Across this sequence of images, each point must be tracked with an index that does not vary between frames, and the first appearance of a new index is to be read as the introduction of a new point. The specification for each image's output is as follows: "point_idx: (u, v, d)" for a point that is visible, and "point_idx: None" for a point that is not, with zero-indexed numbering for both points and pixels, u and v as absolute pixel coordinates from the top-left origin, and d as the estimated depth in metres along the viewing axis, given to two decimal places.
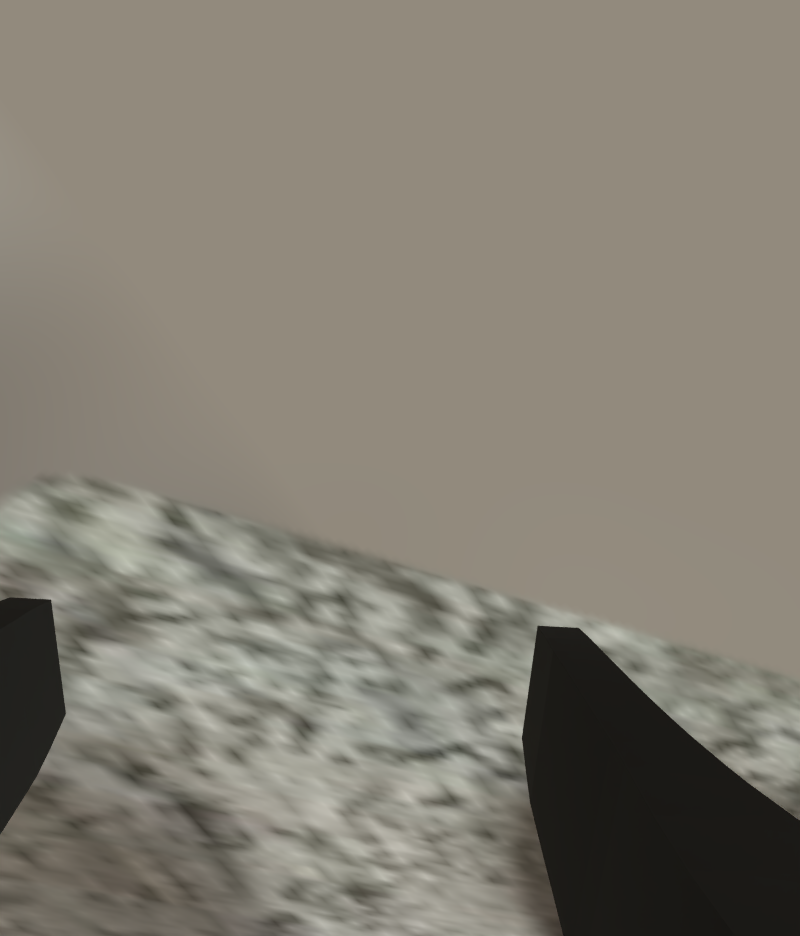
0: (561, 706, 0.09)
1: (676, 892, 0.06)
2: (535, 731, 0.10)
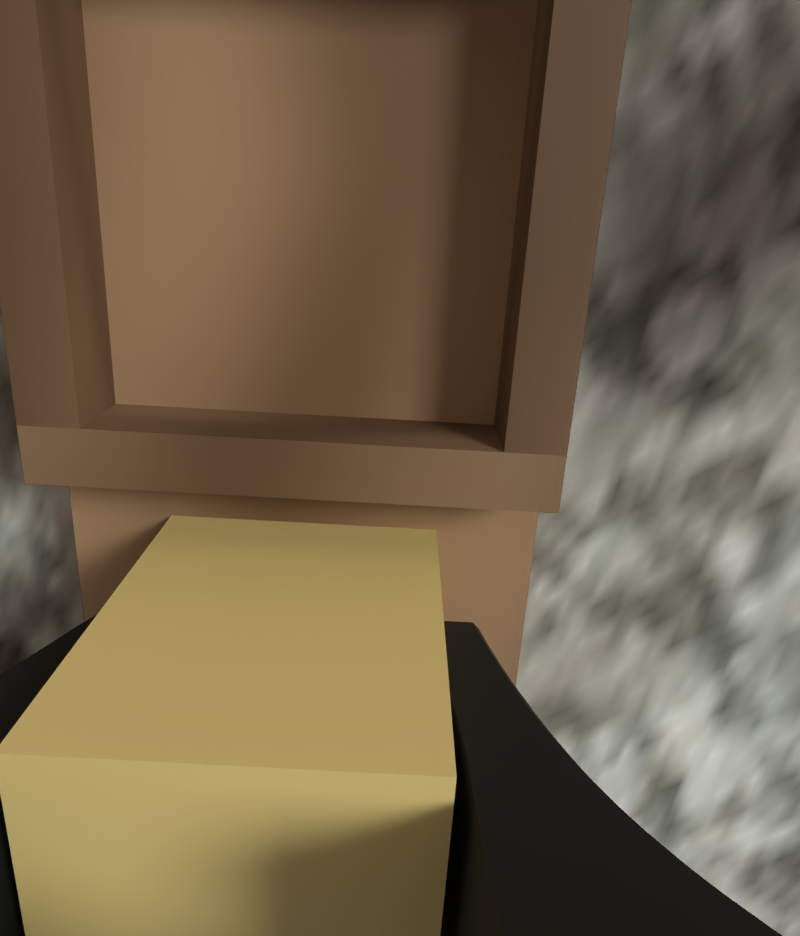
0: None
1: (482, 883, 0.06)
2: None
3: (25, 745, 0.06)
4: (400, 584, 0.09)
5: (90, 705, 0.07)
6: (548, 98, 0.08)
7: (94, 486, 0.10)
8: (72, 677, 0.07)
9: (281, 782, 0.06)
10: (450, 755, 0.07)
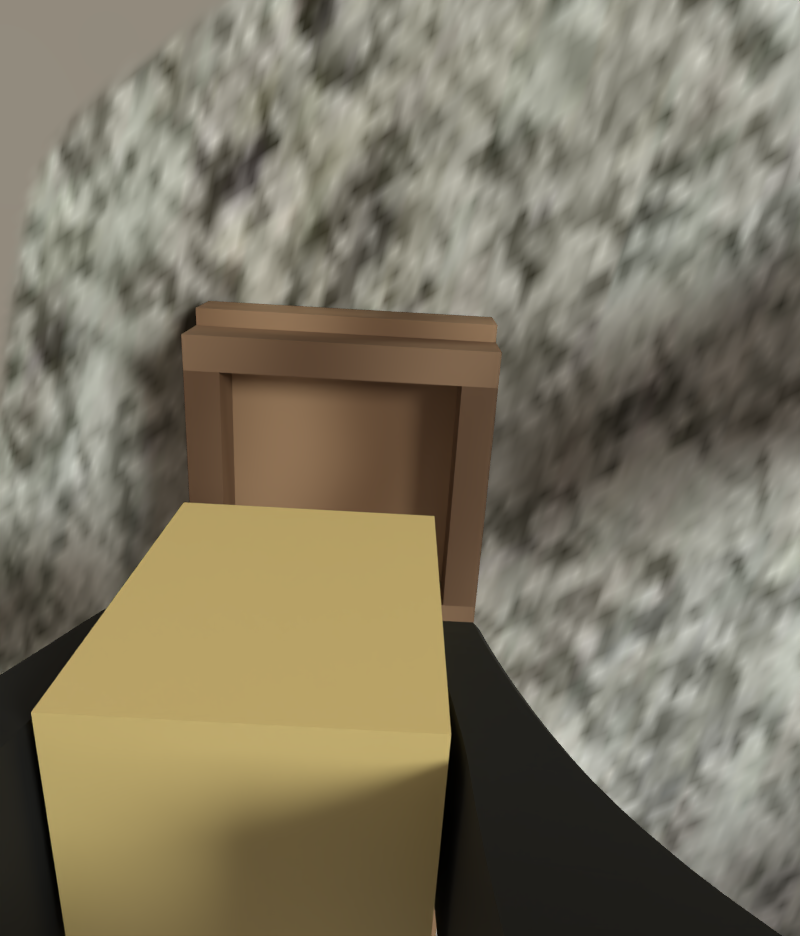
0: None
1: (480, 883, 0.06)
2: None
3: (59, 706, 0.07)
4: (400, 565, 0.10)
5: (116, 671, 0.08)
6: (458, 452, 0.17)
7: None
8: (98, 647, 0.08)
9: (292, 740, 0.07)
10: (445, 715, 0.07)
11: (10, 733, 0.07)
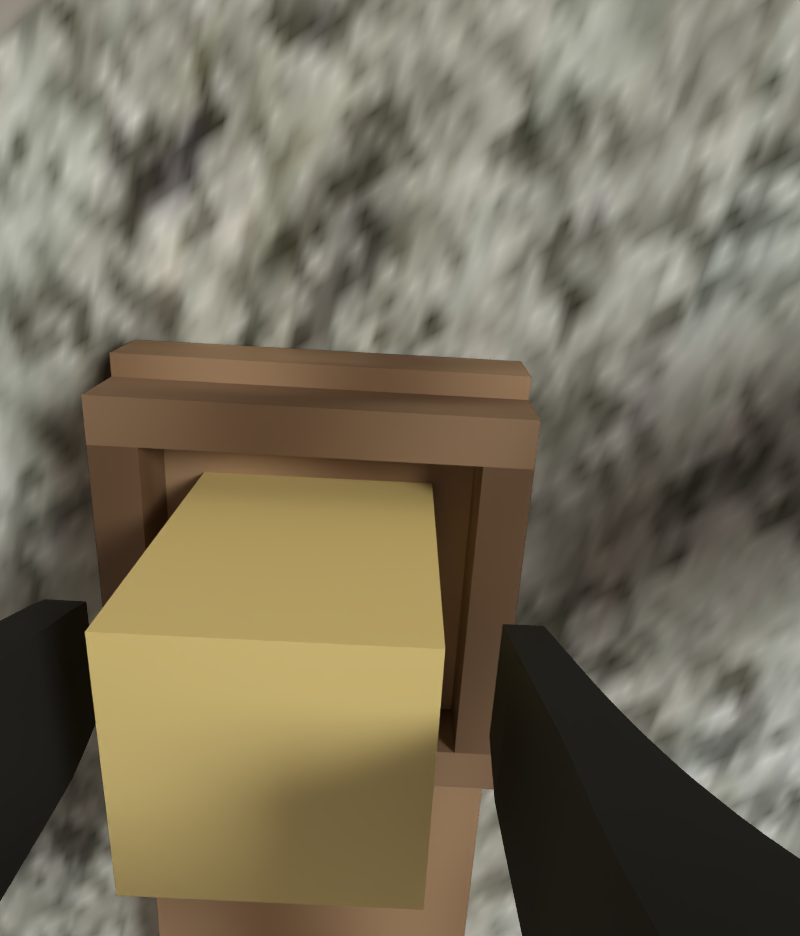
0: (520, 704, 0.09)
1: (612, 890, 0.06)
2: (499, 729, 0.10)
3: (108, 627, 0.08)
4: (401, 522, 0.11)
5: (154, 602, 0.09)
6: (477, 556, 0.12)
7: None
8: (137, 584, 0.09)
9: (308, 654, 0.08)
10: (440, 635, 0.08)
11: None
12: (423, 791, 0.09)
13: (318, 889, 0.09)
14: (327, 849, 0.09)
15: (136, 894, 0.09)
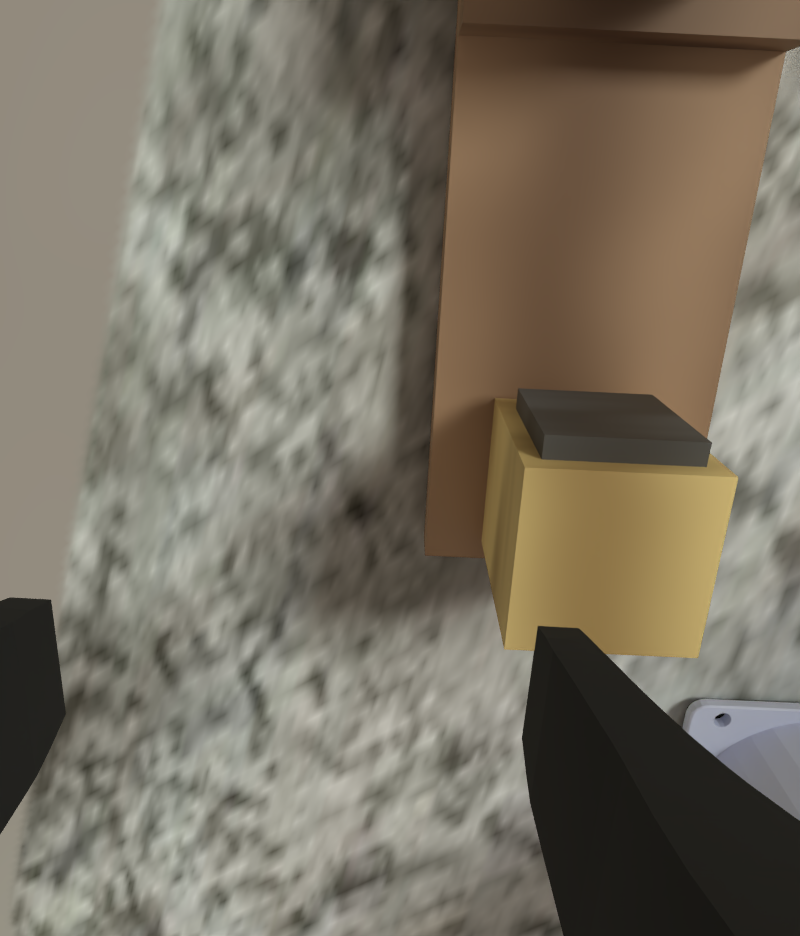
0: (561, 706, 0.09)
1: (676, 892, 0.06)
2: (535, 731, 0.10)
3: None
4: None
5: None
6: None
7: (508, 24, 0.14)
8: None
9: None
10: None
11: None
12: None
13: None
14: None
15: None
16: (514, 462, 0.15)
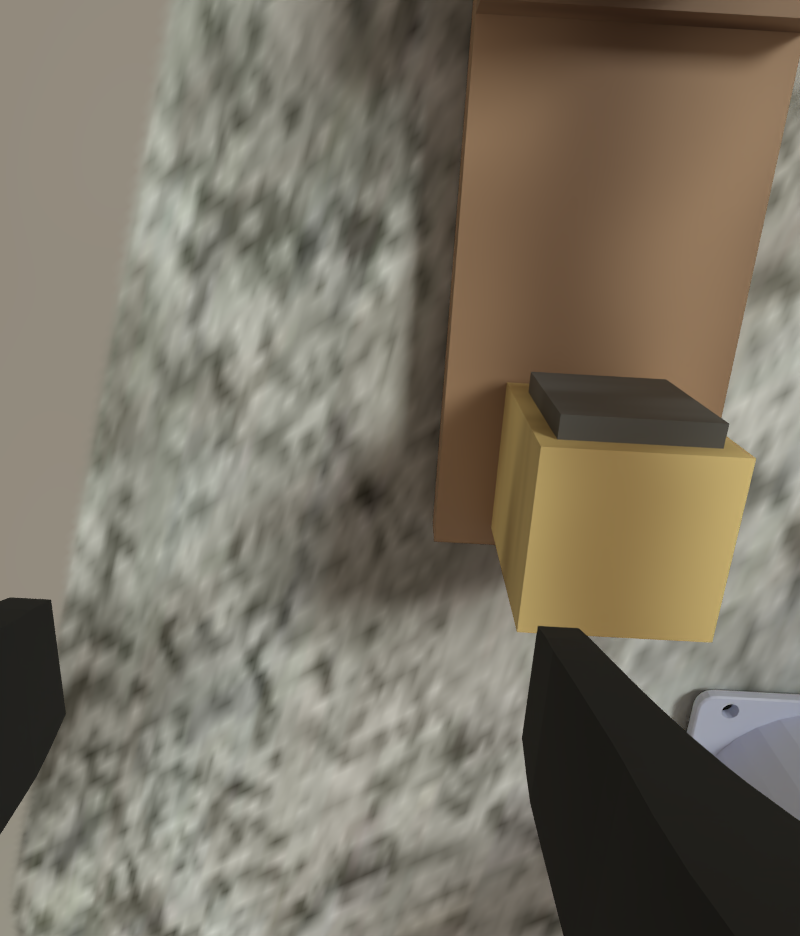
0: (561, 706, 0.09)
1: (677, 892, 0.06)
2: (535, 731, 0.10)
3: None
4: None
5: None
6: None
7: (527, 0, 0.14)
8: None
9: None
10: None
11: None
12: None
13: None
14: None
15: None
16: (529, 443, 0.15)
